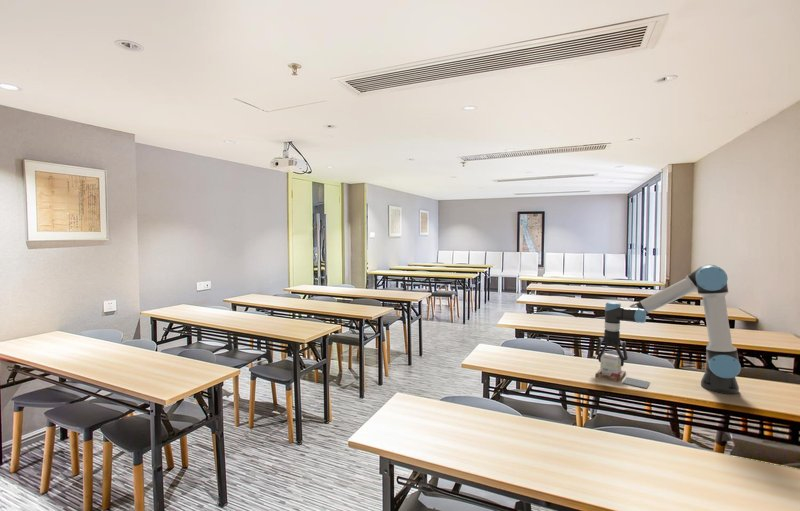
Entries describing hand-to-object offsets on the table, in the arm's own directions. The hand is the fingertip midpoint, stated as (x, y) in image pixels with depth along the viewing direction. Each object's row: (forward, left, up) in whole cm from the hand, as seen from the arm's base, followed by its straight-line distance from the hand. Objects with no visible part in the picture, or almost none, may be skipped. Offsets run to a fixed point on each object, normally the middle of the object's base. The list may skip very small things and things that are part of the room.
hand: (610, 369), depth 215 cm
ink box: (0, 0, -4) cm, 4 cm away
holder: (0, 0, -3) cm, 3 cm away
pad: (-13, +4, -3) cm, 14 cm away
